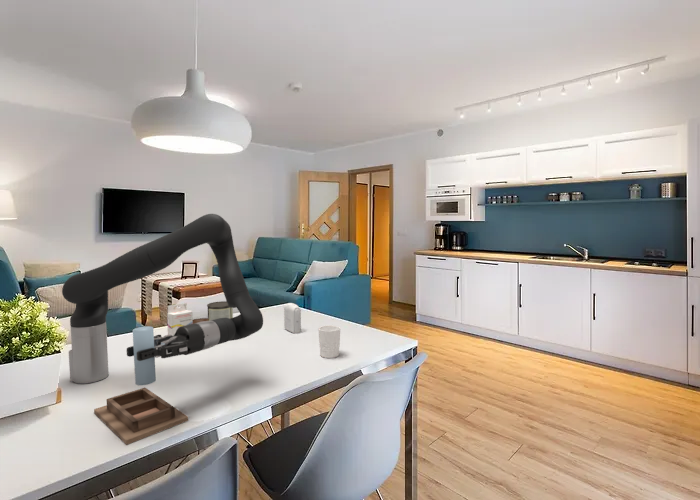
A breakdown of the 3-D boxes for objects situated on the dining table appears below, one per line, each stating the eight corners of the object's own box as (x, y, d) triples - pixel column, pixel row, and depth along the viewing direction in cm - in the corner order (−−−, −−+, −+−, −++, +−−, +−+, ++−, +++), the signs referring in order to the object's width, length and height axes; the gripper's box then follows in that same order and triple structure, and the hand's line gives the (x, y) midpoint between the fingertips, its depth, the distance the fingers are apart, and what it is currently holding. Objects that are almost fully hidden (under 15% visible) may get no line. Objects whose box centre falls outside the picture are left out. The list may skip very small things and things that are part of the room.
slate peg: (131, 383, 94) (128, 330, 93) (146, 377, 98) (144, 325, 97) (144, 386, 93) (142, 332, 92) (159, 379, 97) (157, 327, 96)
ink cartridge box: (173, 343, 158) (172, 307, 157) (167, 341, 161) (166, 305, 160) (193, 338, 165) (192, 303, 164) (187, 336, 168) (186, 302, 167)
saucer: (175, 329, 179) (175, 324, 179) (200, 322, 193) (199, 316, 193) (200, 333, 173) (200, 327, 173) (223, 325, 187) (223, 319, 187)
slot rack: (94, 413, 101) (93, 399, 101) (151, 394, 111) (150, 382, 111) (126, 444, 86) (125, 429, 86) (188, 420, 97) (188, 406, 97)
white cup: (344, 355, 144) (344, 328, 143) (329, 360, 138) (329, 332, 137) (329, 350, 149) (329, 324, 148) (314, 355, 143) (314, 328, 143)
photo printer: (302, 332, 173) (302, 304, 172) (293, 334, 171) (293, 305, 170) (291, 327, 181) (291, 300, 181) (283, 329, 179) (282, 302, 178)
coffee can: (203, 336, 168) (202, 303, 167) (226, 331, 175) (225, 300, 174) (215, 341, 160) (214, 307, 159) (238, 336, 168) (237, 303, 167)
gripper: (182, 319, 110) (117, 333, 96) (213, 327, 102) (146, 344, 88) (183, 345, 111) (119, 363, 97) (214, 355, 102) (148, 377, 89)
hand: (132, 354), depth 93 cm, fingers closed on slate peg, 4 cm apart
